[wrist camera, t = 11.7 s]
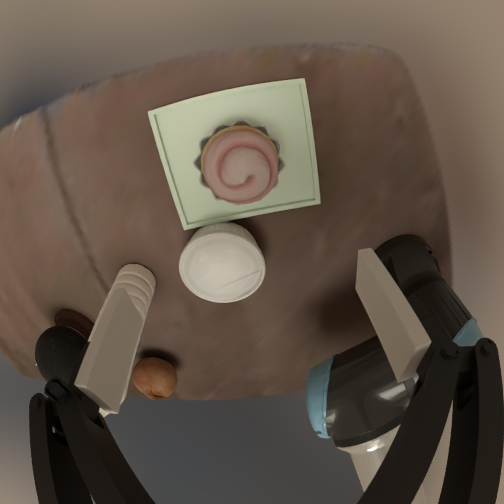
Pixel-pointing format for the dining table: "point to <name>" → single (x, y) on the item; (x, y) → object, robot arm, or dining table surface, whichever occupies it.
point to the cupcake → (239, 162)
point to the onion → (155, 377)
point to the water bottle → (140, 291)
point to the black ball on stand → (62, 345)
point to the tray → (228, 111)
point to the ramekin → (222, 263)
